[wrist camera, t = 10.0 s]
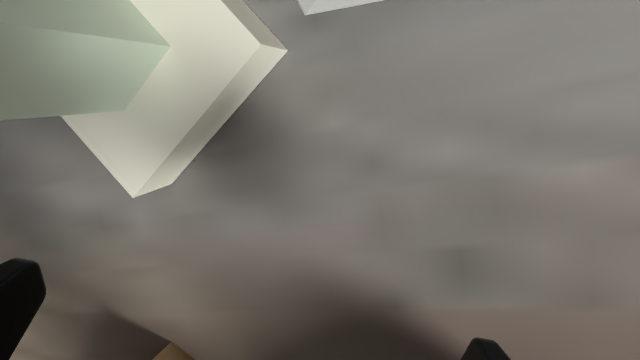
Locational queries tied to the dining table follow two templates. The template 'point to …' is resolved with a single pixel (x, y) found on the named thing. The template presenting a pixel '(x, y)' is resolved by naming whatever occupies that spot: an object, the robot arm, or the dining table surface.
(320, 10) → the die
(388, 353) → the dining table surface
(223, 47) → the slab
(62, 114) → the tea tin
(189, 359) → the walnut cube
